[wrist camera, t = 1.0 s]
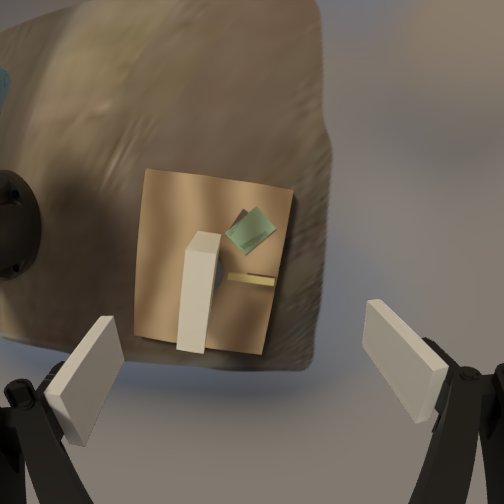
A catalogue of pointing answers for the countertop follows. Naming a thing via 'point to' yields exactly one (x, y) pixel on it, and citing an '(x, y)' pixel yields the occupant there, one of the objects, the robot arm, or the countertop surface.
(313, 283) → the countertop surface
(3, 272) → the robot arm
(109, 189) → the countertop surface
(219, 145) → the countertop surface
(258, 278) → the cream piece
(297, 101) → the countertop surface
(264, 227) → the light wood flat board
